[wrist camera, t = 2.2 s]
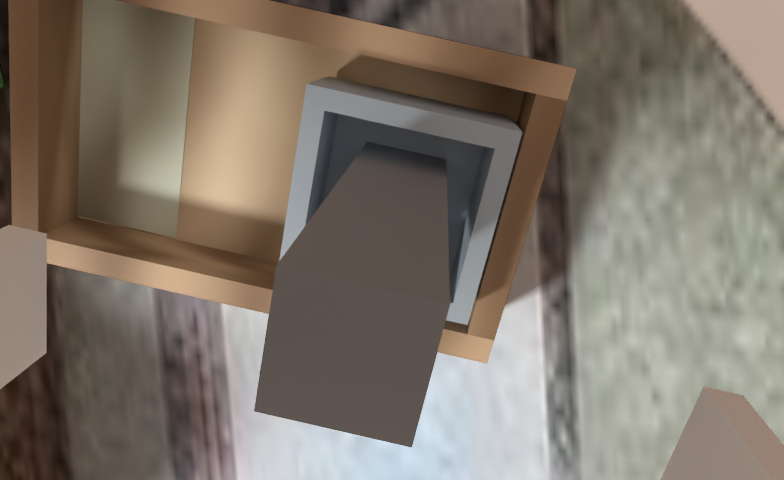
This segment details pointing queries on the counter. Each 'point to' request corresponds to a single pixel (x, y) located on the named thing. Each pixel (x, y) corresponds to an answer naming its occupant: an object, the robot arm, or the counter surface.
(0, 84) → the ink box
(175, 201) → the bay
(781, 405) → the counter surface
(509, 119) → the grey square-based post
